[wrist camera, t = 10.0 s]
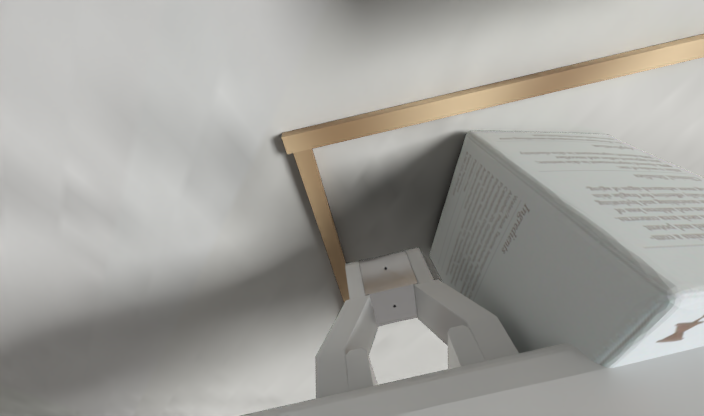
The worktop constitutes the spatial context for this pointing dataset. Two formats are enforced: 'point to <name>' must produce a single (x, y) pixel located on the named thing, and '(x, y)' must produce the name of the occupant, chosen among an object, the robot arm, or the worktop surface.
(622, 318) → the product box
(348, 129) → the track
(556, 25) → the worktop surface
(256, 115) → the worktop surface
